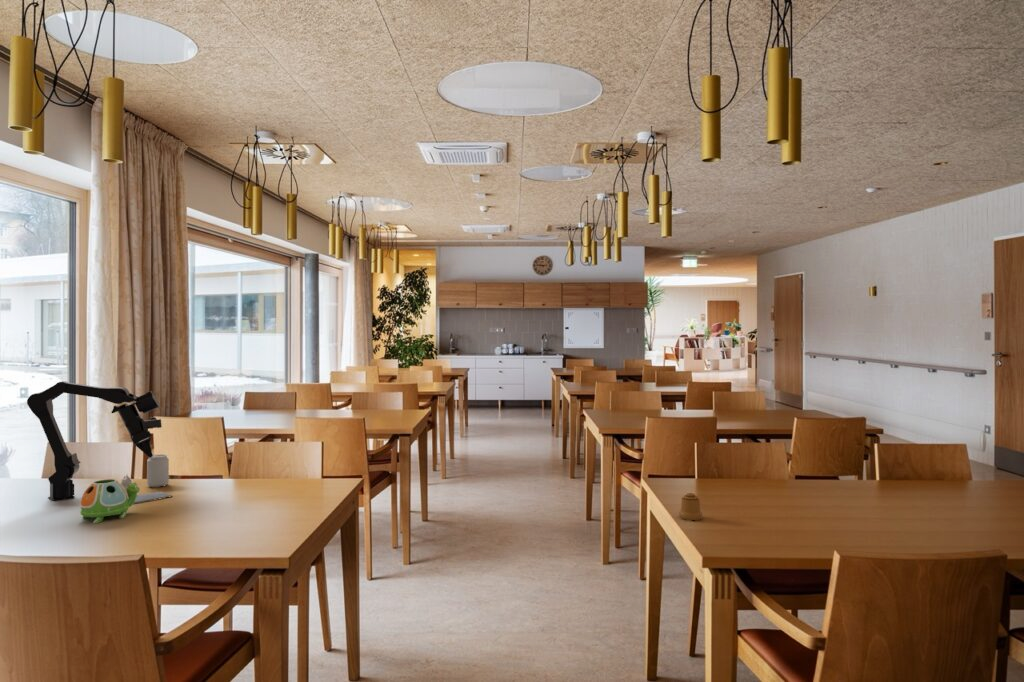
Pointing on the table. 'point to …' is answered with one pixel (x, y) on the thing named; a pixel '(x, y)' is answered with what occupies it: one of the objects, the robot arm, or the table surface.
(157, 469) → the can
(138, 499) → the grey mat
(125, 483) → the off-white lumpy chunk
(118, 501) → the turtle holder
